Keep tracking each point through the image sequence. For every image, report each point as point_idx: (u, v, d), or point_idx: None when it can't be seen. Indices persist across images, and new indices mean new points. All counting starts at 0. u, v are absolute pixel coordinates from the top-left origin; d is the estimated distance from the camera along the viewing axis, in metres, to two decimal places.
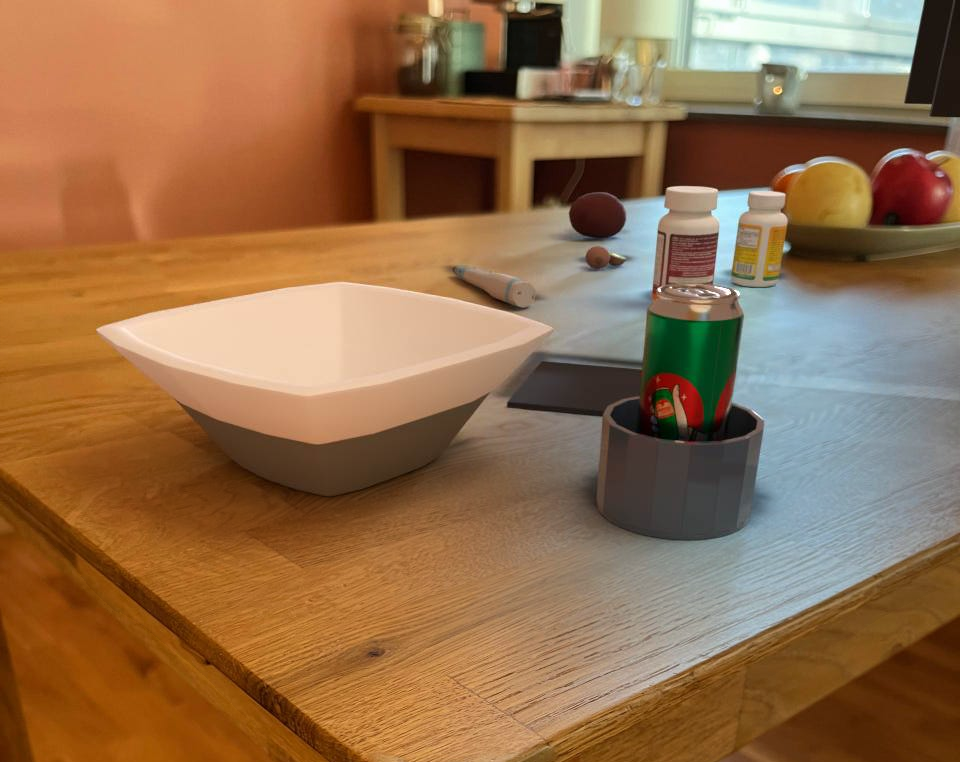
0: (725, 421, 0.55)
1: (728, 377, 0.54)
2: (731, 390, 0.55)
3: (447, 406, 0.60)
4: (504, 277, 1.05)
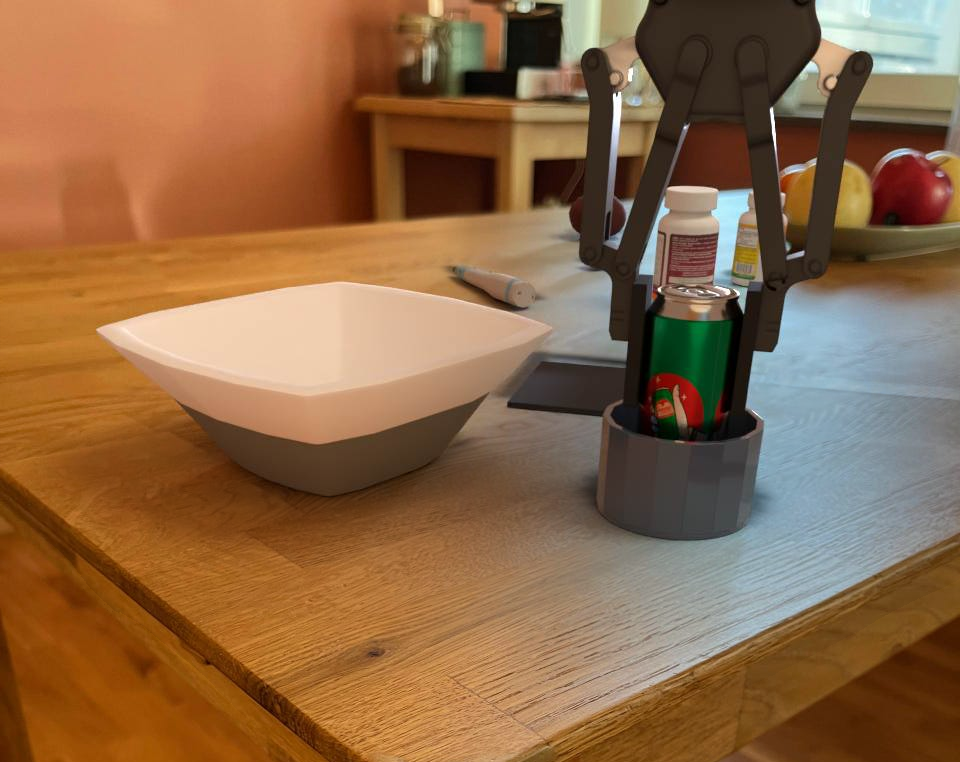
0: (725, 421, 0.55)
1: (728, 377, 0.54)
2: (731, 390, 0.55)
3: (447, 406, 0.60)
4: (504, 277, 1.05)
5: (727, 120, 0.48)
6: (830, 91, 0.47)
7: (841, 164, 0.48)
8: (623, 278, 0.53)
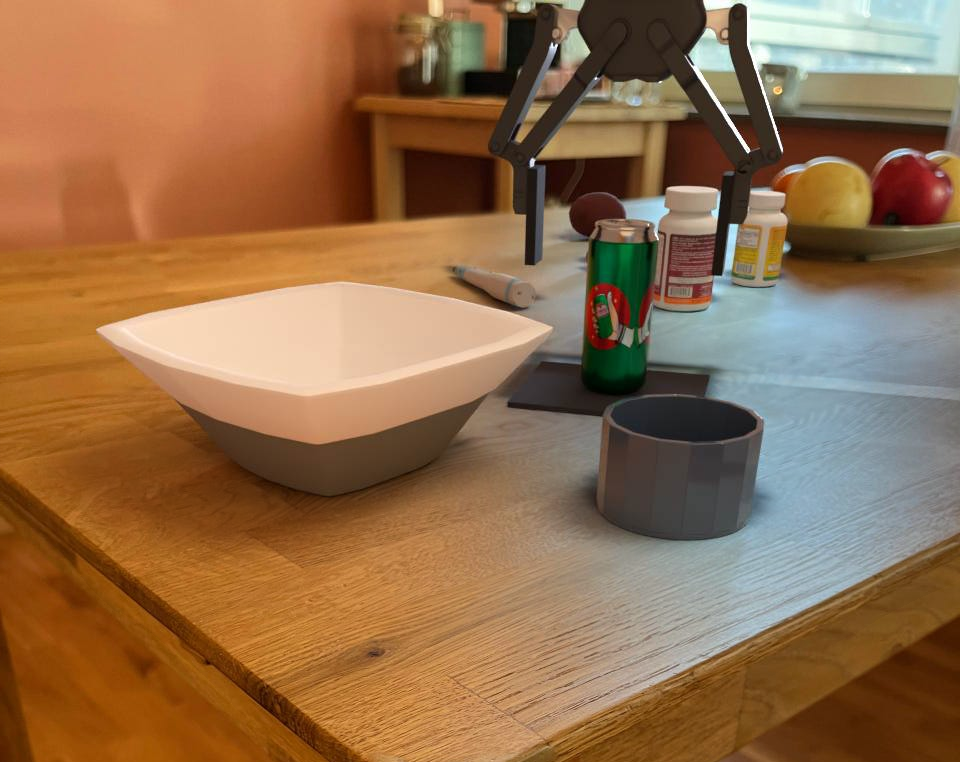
0: (647, 320, 0.75)
1: (648, 286, 0.74)
2: (651, 297, 0.75)
3: (447, 406, 0.60)
4: (504, 277, 1.05)
5: (643, 79, 0.68)
6: (728, 39, 0.66)
7: (757, 80, 0.66)
8: (517, 164, 0.72)
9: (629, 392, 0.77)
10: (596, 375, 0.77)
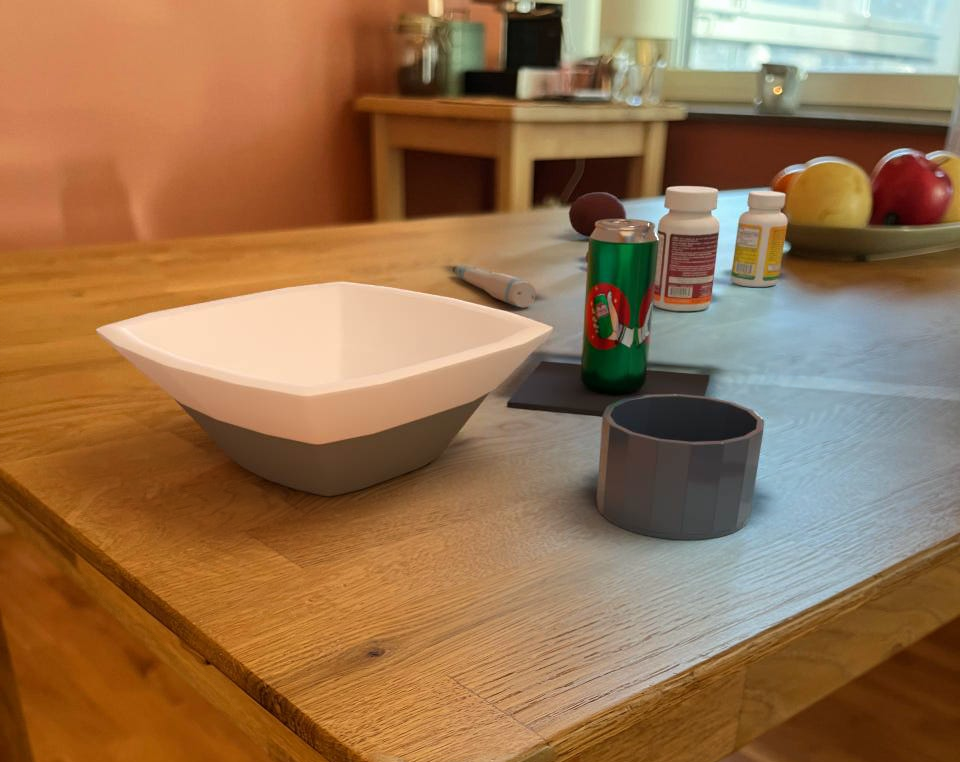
0: (647, 320, 0.75)
1: (648, 286, 0.74)
2: (651, 297, 0.75)
3: (447, 406, 0.60)
4: (504, 277, 1.05)
5: None
6: None
7: None
8: None
9: (629, 392, 0.77)
10: (596, 375, 0.77)
